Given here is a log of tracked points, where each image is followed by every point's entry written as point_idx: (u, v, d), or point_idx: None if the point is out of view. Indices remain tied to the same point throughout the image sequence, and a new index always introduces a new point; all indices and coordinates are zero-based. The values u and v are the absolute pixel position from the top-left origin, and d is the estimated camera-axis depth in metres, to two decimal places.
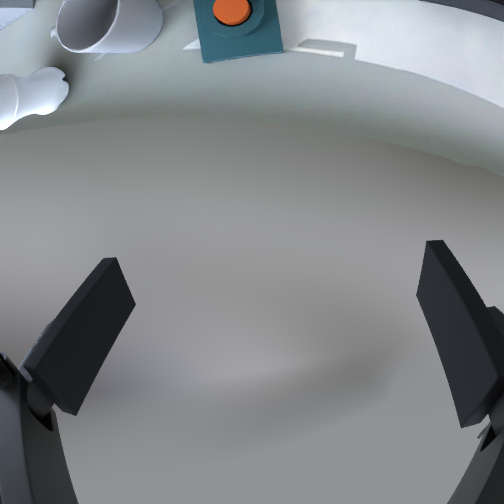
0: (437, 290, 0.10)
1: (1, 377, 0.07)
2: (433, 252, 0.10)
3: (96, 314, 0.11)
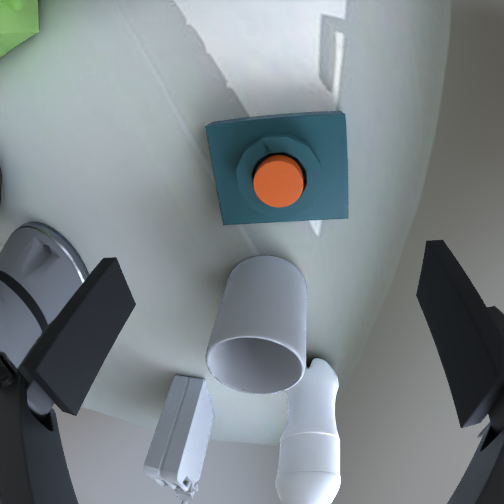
0: (437, 290, 0.10)
1: (1, 377, 0.07)
2: (433, 252, 0.10)
3: (96, 314, 0.11)
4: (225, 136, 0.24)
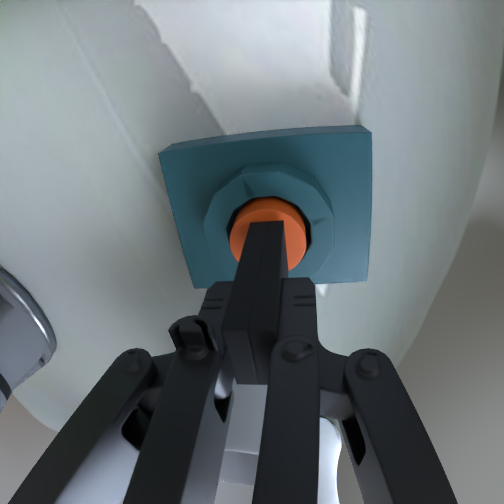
0: None
1: (190, 346, 0.08)
2: (265, 230, 0.13)
3: None
4: (188, 168, 0.16)
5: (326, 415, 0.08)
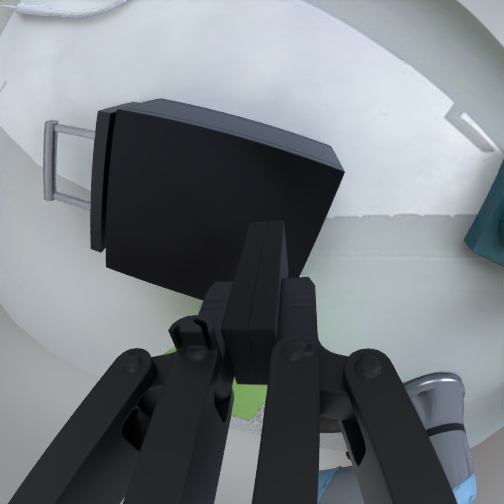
0: None
1: (190, 346, 0.08)
2: (265, 230, 0.13)
3: None
4: (485, 242, 0.25)
5: (326, 415, 0.08)
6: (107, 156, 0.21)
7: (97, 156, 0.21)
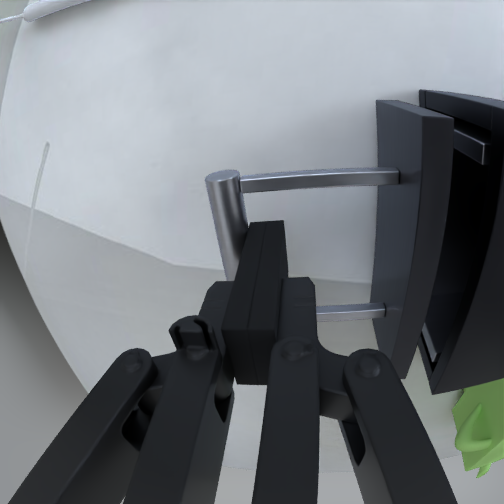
0: None
1: (190, 346, 0.08)
2: (265, 230, 0.13)
3: None
4: None
5: (326, 415, 0.08)
6: None
7: (428, 223, 0.09)
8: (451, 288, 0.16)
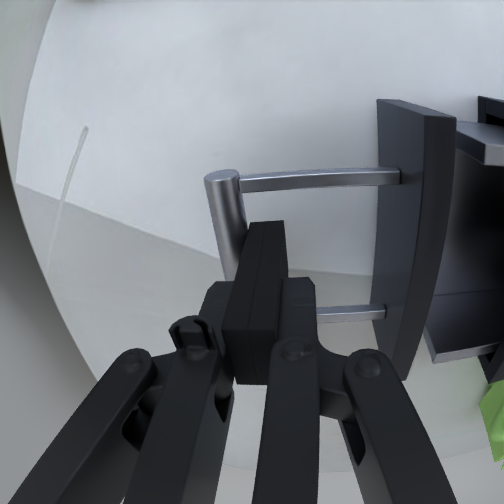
0: None
1: (190, 346, 0.08)
2: (265, 230, 0.13)
3: None
4: None
5: (326, 415, 0.08)
6: None
7: (429, 224, 0.09)
8: (452, 289, 0.16)
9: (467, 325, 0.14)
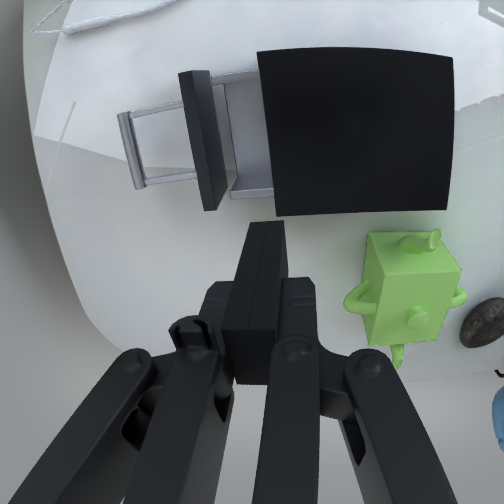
0: None
1: (190, 346, 0.08)
2: (265, 230, 0.13)
3: None
4: None
5: (326, 415, 0.08)
6: (199, 110, 0.23)
7: (189, 113, 0.23)
8: (261, 169, 0.30)
9: (260, 182, 0.28)
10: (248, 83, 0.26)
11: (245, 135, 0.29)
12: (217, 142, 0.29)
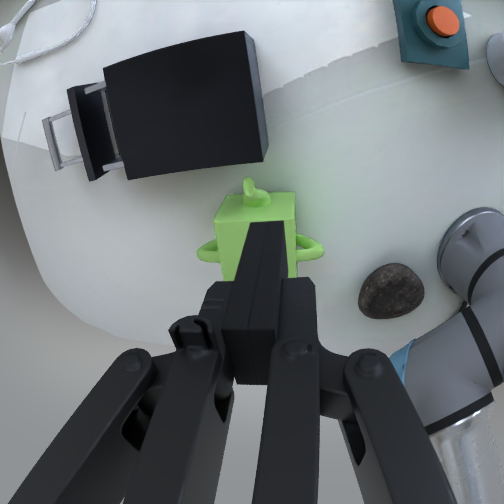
0: None
1: (190, 346, 0.08)
2: (265, 230, 0.13)
3: None
4: (414, 49, 0.26)
5: (326, 415, 0.08)
6: (80, 112, 0.31)
7: (74, 115, 0.31)
8: None
9: None
10: None
11: None
12: (104, 133, 0.36)
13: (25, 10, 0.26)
